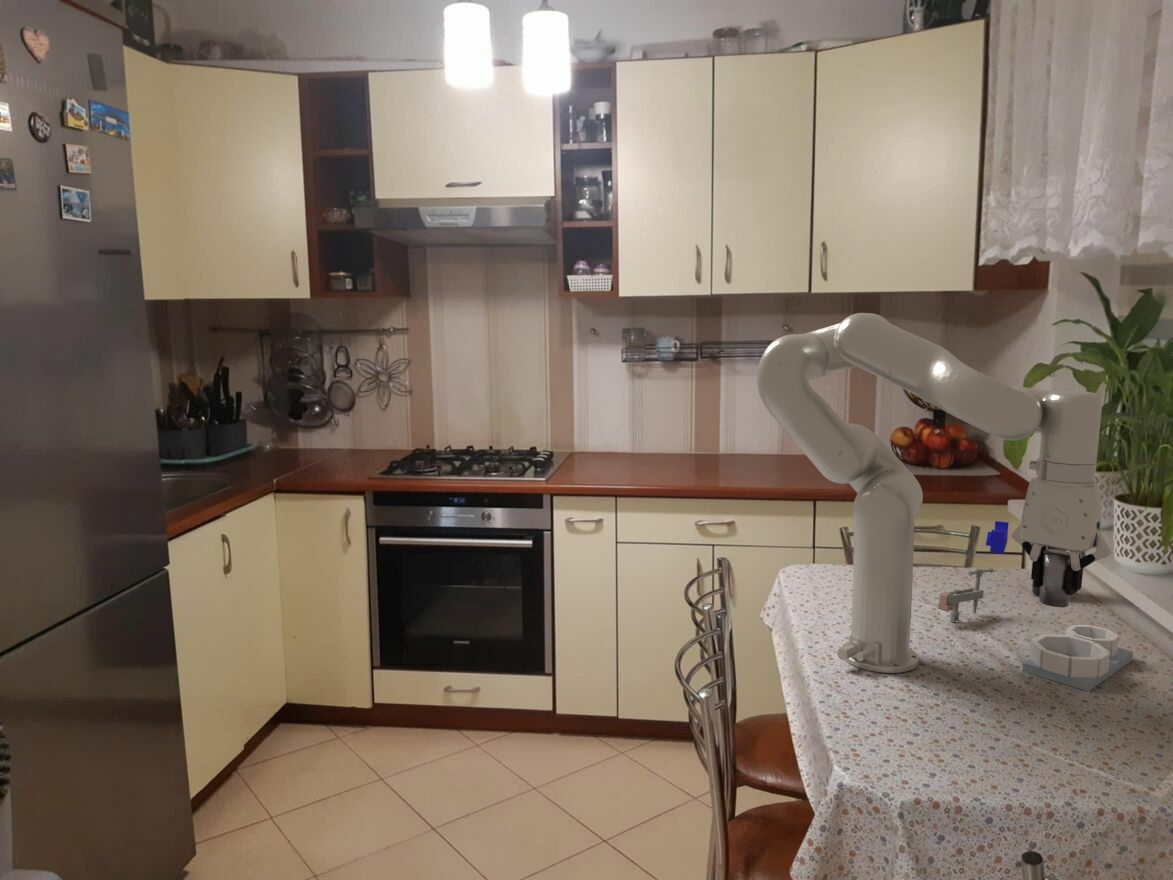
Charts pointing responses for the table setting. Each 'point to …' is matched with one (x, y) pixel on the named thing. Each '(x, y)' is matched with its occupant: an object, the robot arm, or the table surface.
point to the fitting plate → (1077, 656)
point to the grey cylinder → (1054, 578)
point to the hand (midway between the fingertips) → (1055, 588)
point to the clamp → (962, 596)
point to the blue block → (998, 537)
